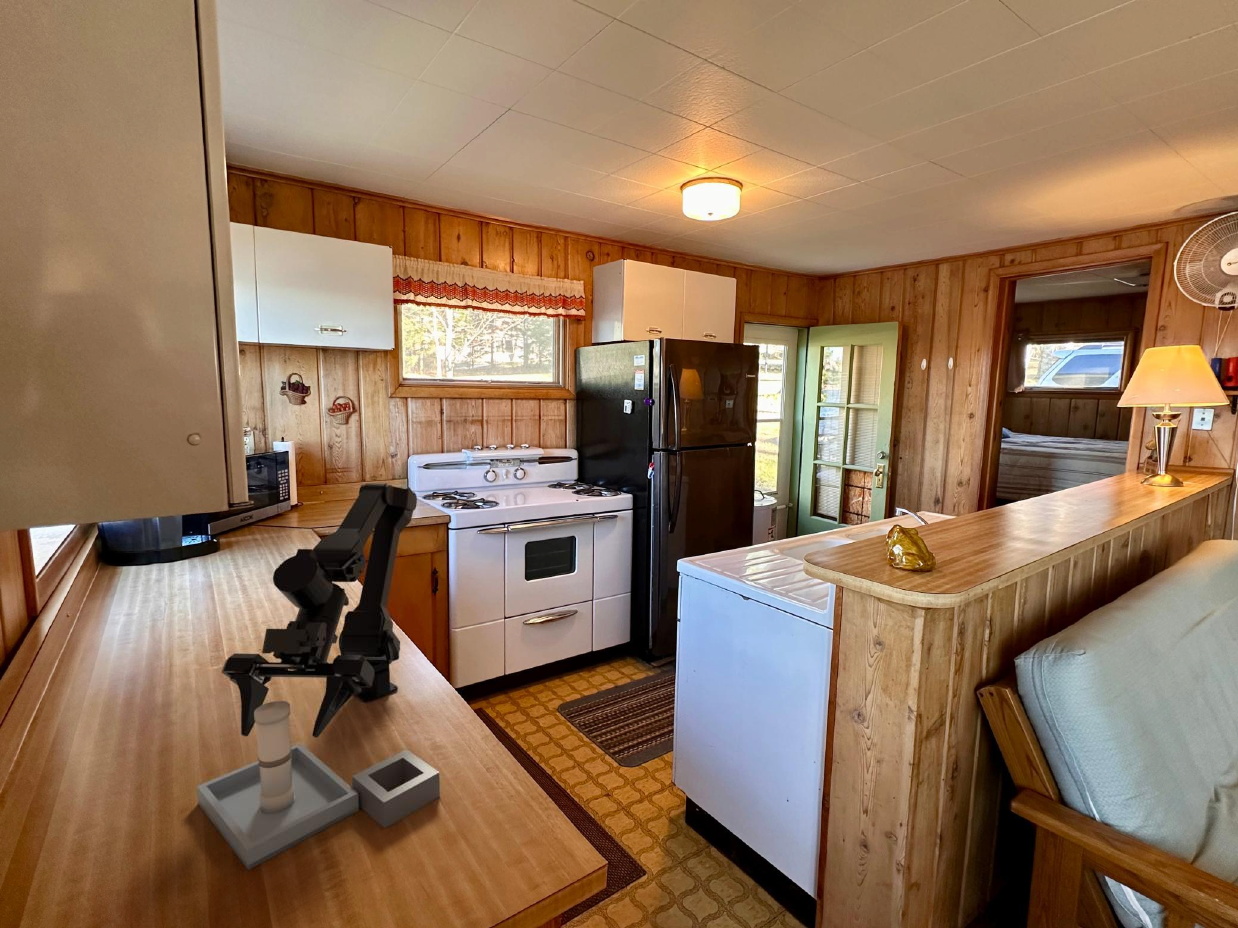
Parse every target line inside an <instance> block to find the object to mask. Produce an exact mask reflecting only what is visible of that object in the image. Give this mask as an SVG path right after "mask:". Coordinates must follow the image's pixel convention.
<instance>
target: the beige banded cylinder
mask: <svg viewBox="0 0 1238 928" xmlns="http://www.w3.org/2000/svg"><path fill="white" fill-rule="evenodd" d="M290 715H291V704H290V703H289V702H288V701H284V700H276V701H270V702H267V703H263V705H262V706H260V707H258V708H257V709H256V710H255V711H254V720H255V724H256V734H257V735H256V736H257V748H258V749H257V752H258V760H257V761H259V769H260V785H261V790H260V792H259V798H260V810H261V811H262V812H264V813H269V814H270V813H277V812H280V811H283V810H285V809H287V808H288V807H290V806H291V805H292V804H293V803H294V801H295V785H294V782H293V780H292V763H291V747H292V746H291V732H290V731H291V730H290Z"/></svg>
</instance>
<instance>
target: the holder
mask: <svg viewBox="0 0 1238 928" xmlns="http://www.w3.org/2000/svg"><path fill="white" fill-rule="evenodd" d="M440 779H441V778H440V771H438V770H437V769H436V768H434V767H433V766H431V765H430V764H428V763H427V762H425V761H424V760H423V759H421V758H420V757H419V756H417V755H415V754H414V753H412V752H411V751H410V750H409V749H405V750H402V751H400V752H397V754H394V755H392V756H390V757H388V758H386V759H383V760H381V761H380V762H378V763H376V764H374V765H371V766H369V767H368V768H366V769H364V770H361V771H359V772H357V773H355V774H353V775H351V785H352V786H351V787H352V788H353V789H354V790H355V791H356V792H358V805H359V808H361V809H362V810H363V811H364V812H366V814H368V815H369V816H370V817H371V818H372V819H373V820H374V821H375V822H377V823H378V824H379V825H380V826H381V827H382V828H383V829H386V828H388V827H390V826H392V825H393V824H395V823H397V822H399V821H401V820H402V819H404V818H406V817H407V816H408V815H411V814H413V813H414V812H415V811H417V810H419V809H421V808H423V807H424V806H426V805H427V804H429V803H431V802H432V801H434V800H436V799H437V798H439V797H441V793H440V791H441V788H440V786H441V785H440V781H441V780H440ZM402 782H404V783H403V784H401V783H402ZM398 784H401V785H399V786H397V785H398ZM395 786H397V787H396V788H394V789H391V788H393V787H395ZM390 789H391V790H390ZM387 790H390V791H387Z"/></svg>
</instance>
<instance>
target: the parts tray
mask: <svg viewBox="0 0 1238 928" xmlns="http://www.w3.org/2000/svg"><path fill="white" fill-rule="evenodd" d="M291 763H292V780H293V782H294V785H295V801H294V803H293V804H292V805H291V806H290V807H288V808H287V809H285V810H283V811H280V812H277V813H270V814H269V813H264V812H262V811H261V810H260V798H259V792H260V790H261V785H260V769H259V761H258V760H256V761H254V762H252V763H249V764H247V765H244V766H242V767H240V768H237V769H235V770H232V771H230V772H228V773H226V774H222V775H221V776H218V777H216V778H212V779H211V780H209V781H206V782H204V783H202V784H201V783H200V784H199V785H197V786H196V789H197V790H196V792H197V804H198V806H199V807H200V808H201V810H202V811H203V812H204V813H205V815H206V816H207V818H208V819H209V820H210V822H211V823H212V824H213V826H214V827H215V828H216V829H217V831H218V832H219V834H220V835H221V836H222V838H224V840H225V841H226V843H227V844H228V845H229V847H230V848H231V849H232V851H234V853H235V855H236V856H237V857H238V858H239V860H240V861H241V862H242V864H243V865H244V866H245V868H246V869H247V870H248V871H250V870H252V869H253V868H255V867H257V866H259V865H260V864H263V863H264V862H266V861H269V860H270V859H271V858H273V857H275V856H278V855H279V854H282V853H283V852H285V851H287V850H289V849H291V848H292V847H294V846H296V845H298V844H299V843H302V842H304V841H305V840H307V839H309V838H311V837H313V836H315V835H316V834H318V833H320V832H322V831H324V830H326V829H327V828H330V827H332V826H333V825H335V824H337V823H339V822H341V821H342V820H345V819H346V818H348V817H350V816H352V815H354V814H355V813H358V812H359V810H360V809H359V808H360V806H359V805H358V792H356V791H355V790H354V789H353V788H352V786H351V785H349V784H348V783H347V782H346V781H345V780H344V779H343V778H342V777H341V776H339V775H338V774H337V773H336V772H335V771H333V770H332V768H330V767H329V766H328V765H326V764H325V763H324V762H323V761H322V760H321V759H319V758H318V757H317V756H316V755H315V754H314V753H313V752H311V751H310V750H309V749H308V748H307V747H305V745H303V744H302V743H301V742H298V743H297V744H294V745H292V746H291Z"/></svg>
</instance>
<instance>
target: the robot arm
mask: <svg viewBox="0 0 1238 928" xmlns="http://www.w3.org/2000/svg"><path fill="white" fill-rule="evenodd" d="M417 497H418V496H417V494H416V493H415V492H414V491H412V489H411V488H410V486H394V485H391V484H388V483H384V482H382V483H380V482H379V483H377V482H373V483H372V482H365V484H361V485H360V487H359V490H358V496H357V497H356V499H355V501H354V502H353V504H352V506H350V508H349V510H348V511H347V514H346V515H345V517H344V518H343V520H342V522H341V523H340V524H339V527H338V528H337V530H336V531H335V532H333V533H331V534H328V535H327V536H325V537H322V538H321V539H320V541H318V543H317V544H316V545H315V546H314V547H313V548H298V549H297V551H296V554H295V555H294V556H291V557H289V558H287V559H286V560H283V562H282V563H280V565H278V567H276V568H275V570H274V572H273V577H272V579H273V580H272V581H273V585H274V586H275V587H276V588H277V590H278V591H279V592H280V593H281V594H282V595H283V596H284V597H285V598H286V599H287V600H288V601H289V602H290V603H291V604H292V606H294V607H296V608H297V609H298V612H297V615H296V618H295V620H289V622H288V623H287V624H286V625H287V626H286V628H266V629H265V634H264V639H263V644H262V650H261V653H262V654H272V653H273V655H272V657H274V658H275V659H277V660H279V659H280V662H276V661H275V662H273V661H272V662H270V661H268V660H267V659H266V658H265V657H264V656H262V655H261V654H260V653H233V654H231V655H230V656H229V657H228V658H227V659H225V662H224V665H223V666H222V670H221V673H222V674H223V675H224V676H225V677H227V678H229V681H230V682H231V683H233V684H235V685H237V687H238V690H239V695H240V712H241V713H240V725H241V726H240V729H241V730H240V734H241V736H243V737H248V736H249V734H250V733H251V731H252V730H253V728H254V725H255V724H256V723H255V720H254V711H255V710H256V709H257V708H258V707H260V706H262V705H264V702H265V699H266V697H267V695H268V693H269V690H270V688H269V687H268V686H267V685H266V684H268V683H269V682H270V681H271V680H272V678H313V679H314V678H315V679H316V678H317V679H318V678H319V679H321V678H322V679H323V678H325V681H326V683H325V684H326V685H325V693H324V694H323V695H324V696H323V699H322V701H321V705H320V707H319V710H318V713H317V716H316V718H315V721H314V726H313V730H312V737H313V738H319V737H320V736H321V734H322V733H323V732H324V730H325V729H326V728H327V726H328V725H329V723H330V722H331V721H332V720H333V718H334V717H335V716H336V714H337V713H338V712H339V711H340V709H342V707H344V705H346V703H347V702H348V701H349V699H351V698H352V696H354V697H355V698H357V699H358V700H360V701H361V702H363V703H368V702H371V701H374V700H375V699H376V700H377V699H378V698H381V697H383V696H385V695H389V694H390V693H394V692H395V691H398V689H399V686H397V685H396V684H394V683H392V682H391V671H390V670H391V669H390V665H391V664H392V663H393V662H395V661H397V660H399V659H400V650H401V640H400V639H399V638H398V636H397V635H396V634H395V632H394V631H393V630H394V623H393V620H392V617H391V615H390V613H389V610H388V609H387V608H388V602H389V596H390V591H391V585H392V581H393V574H394V569H395V564H396V556H397V553H398V552H397V551H398V546H399V540H400V536H401V532H403V530H405V529H406V527H407V526H408V525H410V523H411V522H412V519H413V513H414V511H415V510H416V508H417V505H418V504H417V503H418V498H417ZM371 534H372V538H371V543H370V548H369V552H368V558H366V555H365V551H364V549H365V546H366V545H367V542H368V540H369V539H370V536H371ZM364 571H365V573H364ZM363 573H364V577H363V583H362V589H361V592H360V599H359V603H358V604H357V606H356V607H355V608H354V609H353V610H348V611H347V612H346V613H345V616H344V620H343V626H342V630H341V632H340V633H339V636H338V635H337V634H336V632H337V628H338V626H339V623H340V619H341V615H342V612H343V609H344V607H347V606H349V605H350V603H349V601H350V600H349V597H348V596H347V593H346V590H345V588H343V587H342V586H340V585H338V584H337V583H355V582H356V581H357V580H358V579H359V578H360V576H361V575H362V574H363ZM337 642H338V648H339V652H340V654H337V655H336V656H335V657H334V658H333V660H332V663H331V662H328V659H329V655H330V652H331V648H332V645H333V644H337Z"/></svg>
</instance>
